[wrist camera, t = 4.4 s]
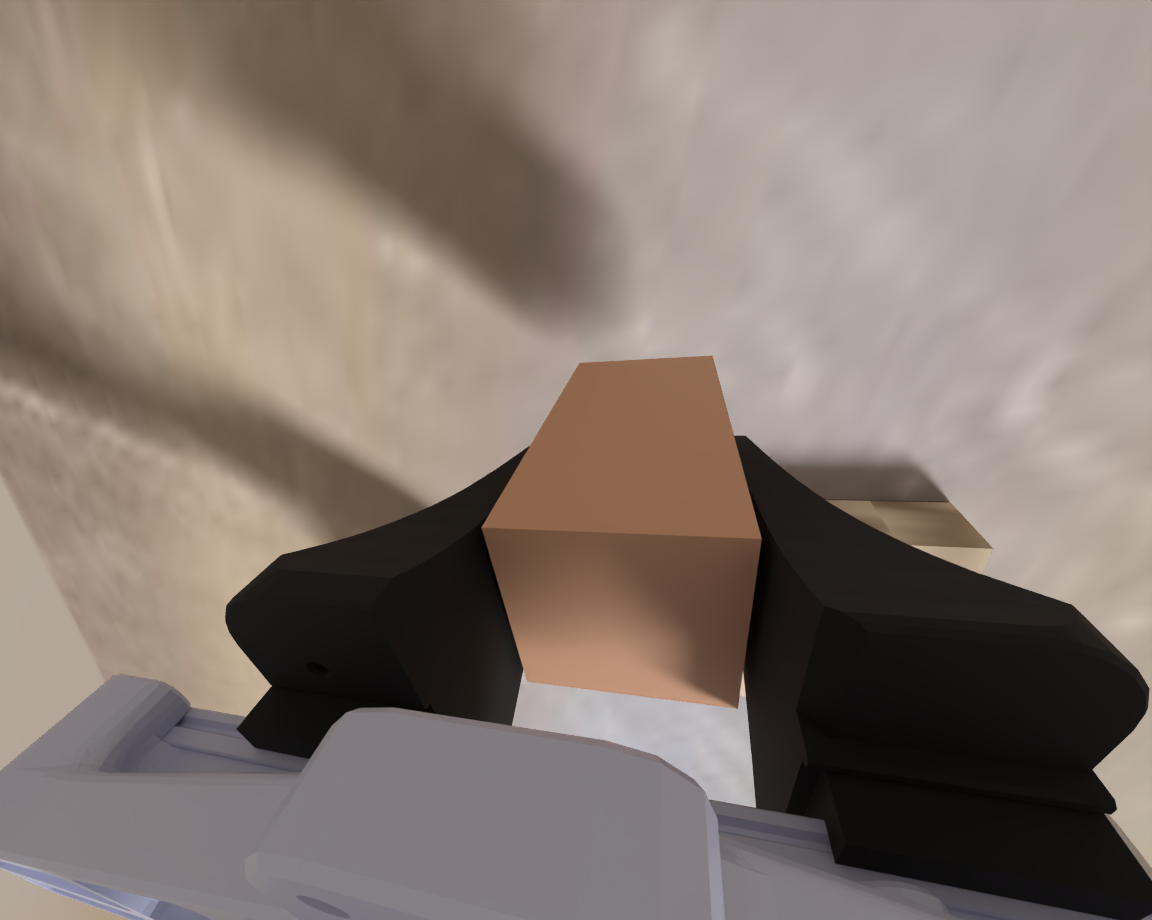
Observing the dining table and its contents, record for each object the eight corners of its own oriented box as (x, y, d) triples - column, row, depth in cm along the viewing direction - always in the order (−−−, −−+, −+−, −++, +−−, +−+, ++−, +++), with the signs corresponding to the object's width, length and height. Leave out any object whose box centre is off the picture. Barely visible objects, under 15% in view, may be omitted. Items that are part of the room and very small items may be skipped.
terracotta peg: (591, 470, 15) (527, 681, 8) (579, 363, 13) (481, 527, 6) (706, 470, 14) (737, 708, 7) (712, 355, 12) (762, 539, 5)
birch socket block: (675, 643, 27) (675, 687, 25) (676, 496, 21) (676, 535, 19) (882, 664, 25) (905, 716, 22) (950, 502, 19) (993, 548, 16)
